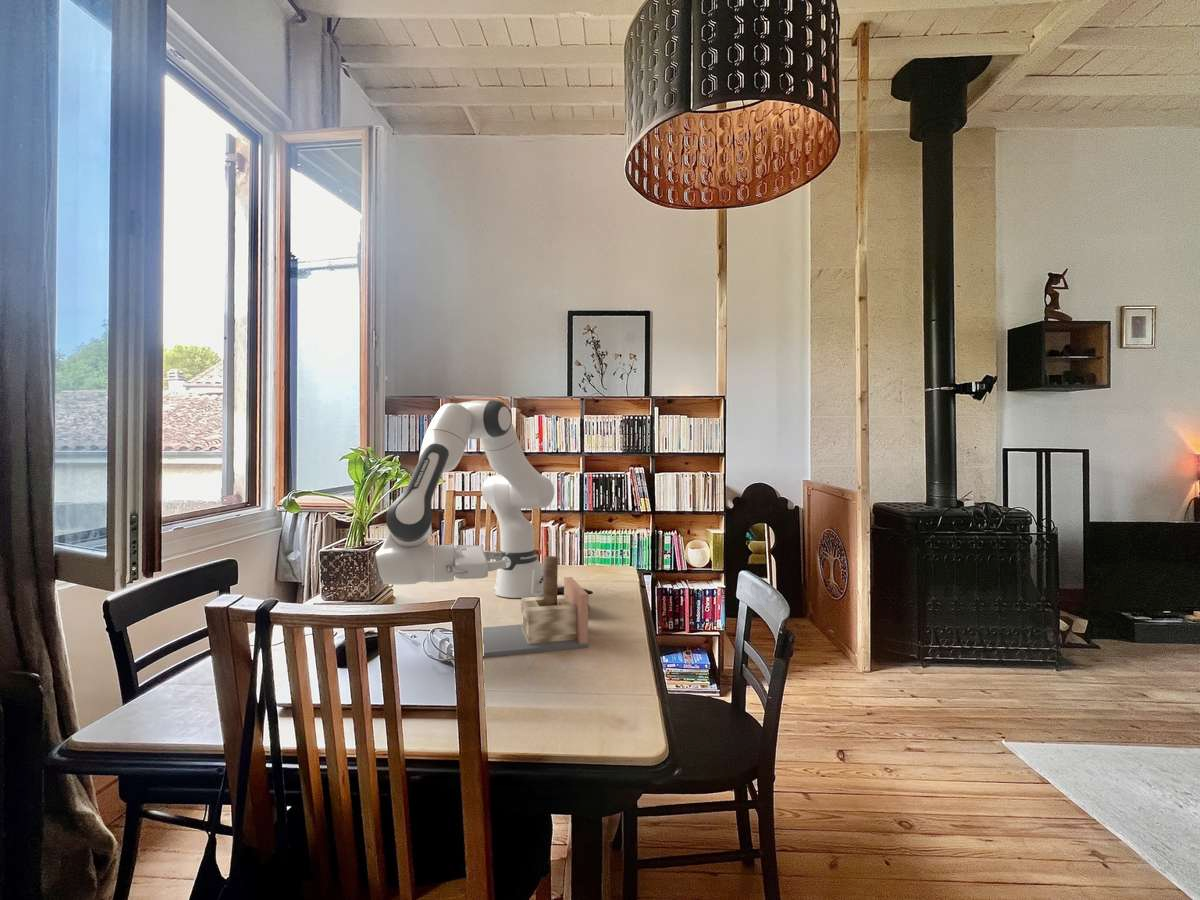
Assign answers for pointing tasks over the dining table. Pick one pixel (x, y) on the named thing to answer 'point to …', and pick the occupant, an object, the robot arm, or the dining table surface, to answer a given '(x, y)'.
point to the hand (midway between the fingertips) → (503, 559)
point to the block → (548, 620)
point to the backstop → (515, 642)
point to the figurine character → (561, 592)
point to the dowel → (550, 580)
